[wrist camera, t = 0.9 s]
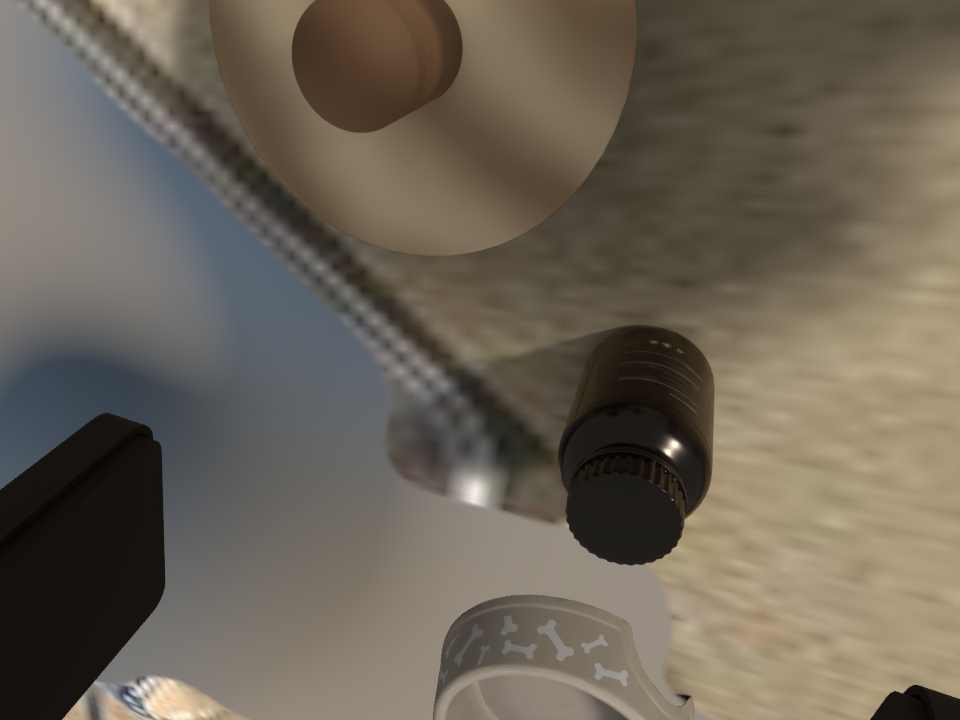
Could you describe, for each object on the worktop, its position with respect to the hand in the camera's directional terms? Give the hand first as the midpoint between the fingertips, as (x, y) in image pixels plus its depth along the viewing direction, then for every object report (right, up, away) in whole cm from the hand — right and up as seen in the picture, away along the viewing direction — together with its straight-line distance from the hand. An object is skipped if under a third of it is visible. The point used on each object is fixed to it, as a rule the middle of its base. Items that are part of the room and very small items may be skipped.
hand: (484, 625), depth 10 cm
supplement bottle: (+9, +2, +32) cm, 33 cm away
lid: (-2, +16, +21) cm, 26 cm away
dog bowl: (+6, -20, +46) cm, 50 cm away
